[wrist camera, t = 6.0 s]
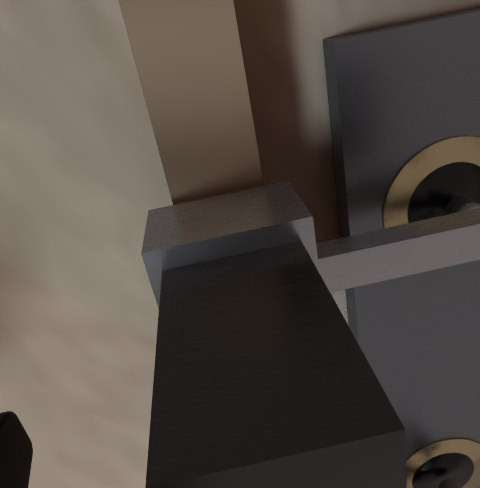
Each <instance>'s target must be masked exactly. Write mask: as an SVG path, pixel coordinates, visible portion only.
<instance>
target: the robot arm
mask: <svg viewBox="0 0 480 488" xmlns="http://www.w3.org/2000/svg"><path fill="white" fill-rule="evenodd" d="M32 455H33V448H32V443H31V440H30V438H29V436H28V435H27V433H26V431H25V429H24V427H23V426H22V424H21V422H20V420H19V419H18V417H17V415H16V414H15V413H14V412H11V411H7V412H2V413H0V488H28V484H29V477H30V470H31V463H32Z"/></svg>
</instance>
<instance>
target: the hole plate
mask: <svg viewBox="0 0 480 488" xmlns="http://www.w3.org/2000/svg"><path fill="white" fill-rule="evenodd" d="M323 48H324V59H325V70H326V81H327V92H328V103H329V114H330V124H331V135H332V146H333V157H334V168H335V179H336V190H337V201H338V212H339V223H340V234H341V238H342V237H347V236H352V235H356V234H361V233H365V232H370V231H375V230H379V229H384V228H388V227H393V226H398V225H402V224H407V223H411V222H416V221H421V220H425V219H430V218H434V217H439V216H444V215H445V209H446V206H447V204H448V203H449V202H450V201H451V200H452V199H453V198H455V197H457V196H467V197H469V198H470V199H472V200H474V201H475V202H477V203H479V204H480V7H477V8H472V9H468V10H463V11H458V12H453V13H448V14H443V15H439V16H434V17H429V18H424V19H419V20H414V21H410V22H405V23H400V24H395V25H390V26H385V27H381V28H376V29H371V30H366V31H361V32H356V33H352V34H347V35H342V36H337V37H332V38H327V39H323ZM346 300H347V311H348V322H349V328H350V330H351V332H352V333H353V335H354V337H355V339H356V341H357V342H358V344H359V346H360V348H361V350H362V352H363V353H364V355H365V357H366V359H367V361H368V362H369V364H370V366H371V368H372V370H373V372H374V373H375V375H376V377H377V379H378V381H379V382H380V384H381V386H382V388H383V390H384V392H385V393H386V395H387V397H388V399H389V401H390V402H391V404H392V406H393V408H394V410H395V411H396V413H397V415H398V417H399V419H400V421H401V422H402V424H403V426H404V428H405V436H406V476H407V488H439V484H440V483H441V482H442V481H443V480H445V479H447V478H456V479H457V480H458V482H459V484H460V485H461V487H462V488H480V260H476V261H471V262H467V263H462V264H458V265H453V266H449V267H444V268H440V269H435V270H430V271H426V272H421V273H417V274H412V275H408V276H403V277H399V278H394V279H390V280H385V281H380V282H376V283H371V284H367V285H362V286H358V287H353V288H349V289H346Z"/></svg>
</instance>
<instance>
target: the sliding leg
mask: <svg viewBox="0 0 480 488" xmlns="http://www.w3.org/2000/svg"><path fill="white" fill-rule="evenodd" d="M141 254H142V257H143V260H144V264H145V267H146V270H147V273H148V276H149V279H150V282H151V286H152V289H153V292H154V295H155V298H156V301H157V304H158V308H159V317H158V330H157V343H156V356H155V370H154V383H153V396H152V409H151V422H150V436H149V449H148V462H147V475H146V488H407V476H406V436H405V428H404V426H403V424H402V422H401V421H400V419H399V417H398V415H397V413H396V411H395V410H394V408H393V406H392V404H391V402H390V401H389V399H388V397H387V395H386V393H385V392H384V390H383V388H382V386H381V384H380V382H379V381H378V379H377V377H376V375H375V373H374V372H373V370H372V368H371V366H370V364H369V362H368V361H367V359H366V357H365V355H364V353H363V352H362V350H361V348H360V346H359V344H358V342H357V341H356V339H355V337H354V335H353V333H352V332H351V330H350V328H349V326H348V324H347V322H346V321H345V319H344V317H343V315H342V313H341V312H340V310H339V308H338V306H337V304H336V303H335V301H334V299H333V297H332V295H331V292H335V291H340V290H344V289H349V288H353V287H358V286H362V285H367V284H371V283H376V282H380V281H385V280H390V279H394V278H399V277H403V276H408V275H412V274H417V273H421V272H426V271H430V270H435V269H440V268H444V267H449V266H453V265H458V264H462V263H467V262H471V261H476V260H480V204H479V203H477V202H475V201H474V200H472V199H470V198H469V197H467V196H457V197H455V198H453V199H452V200H451V201H450V202H449V203H448V204H447V206H446V209H445V215H444V216H439V217H434V218H430V219H425V220H421V221H416V222H411V223H407V224H402V225H398V226H393V227H388V228H384V229H379V230H375V231H370V232H365V233H361V234H356V235H352V236H347V237H342V238H338V239H333V240H329V241H324V242H319V243H316V239H315V230H314V222H313V216H312V214H311V213H310V212H309V210H308V209H307V207H306V206H305V204H304V203H303V201H302V200H301V198H300V197H299V195H298V194H297V192H296V191H295V189H294V188H293V186H292V185H291V183H290V182H289V181H283V182H279V183H274V184H269V185H265V186H260V187H255V188H251V189H246V190H241V191H237V192H232V193H227V194H223V195H218V196H213V197H209V198H204V199H199V200H194V201H190V202H185V203H180V204H176V205H171V206H166V207H162V208H157V209H152V210H149V211H148V217H147V223H146V229H145V235H144V241H143V246H142V252H141Z"/></svg>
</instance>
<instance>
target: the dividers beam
mask: <svg viewBox="0 0 480 488" xmlns="http://www.w3.org/2000/svg"><path fill="white" fill-rule="evenodd" d="M119 3H120V7H121V11H122V15H123V18H124V22H125V26H126V30H127V33H128V37H129V41H130V45H131V48H132V52H133V56H134V60H135V63H136V67H137V71H138V75H139V78H140V82H141V86H142V90H143V93H144V97H145V101H146V105H147V108H148V112H149V116H150V119H151V123H152V127H153V131H154V134H155V138H156V142H157V146H158V149H159V153H160V157H161V161H162V164H163V168H164V172H165V176H166V179H167V183H168V187H169V191H170V194H171V198H172V202H173V205H176V204H180V203H185V202H190V201H194V200H199V199H204V198H209V197H213V196H218V195H223V194H227V193H232V192H237V191H241V190H246V189H251V188H255V187H260V186H264V182H263V176H262V170H261V164H260V158H259V152H258V146H257V140H256V134H255V128H254V122H253V116H252V110H251V104H250V98H249V92H248V86H247V80H246V75H245V69H244V63H243V57H242V51H241V45H240V39H239V33H238V27H237V21H236V15H235V9H234V3H233V0H119ZM439 488H462V487H461V485H460V484H459V482H458V480H457V479H456V478H447V479H445V480H443V481H442V482H441V483H440V484H439Z"/></svg>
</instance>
